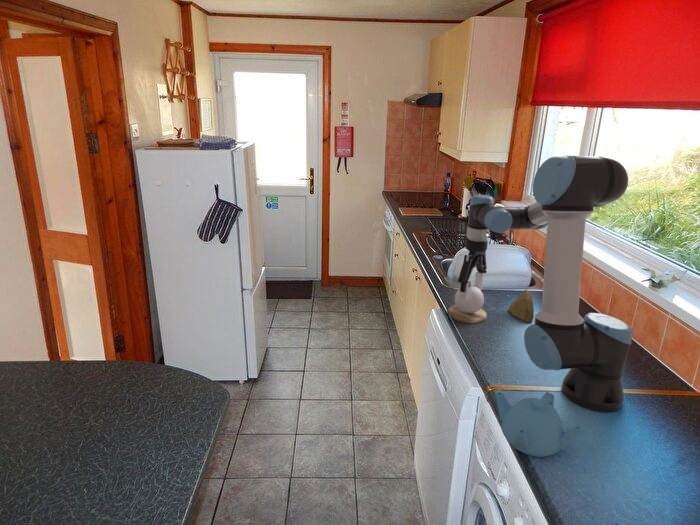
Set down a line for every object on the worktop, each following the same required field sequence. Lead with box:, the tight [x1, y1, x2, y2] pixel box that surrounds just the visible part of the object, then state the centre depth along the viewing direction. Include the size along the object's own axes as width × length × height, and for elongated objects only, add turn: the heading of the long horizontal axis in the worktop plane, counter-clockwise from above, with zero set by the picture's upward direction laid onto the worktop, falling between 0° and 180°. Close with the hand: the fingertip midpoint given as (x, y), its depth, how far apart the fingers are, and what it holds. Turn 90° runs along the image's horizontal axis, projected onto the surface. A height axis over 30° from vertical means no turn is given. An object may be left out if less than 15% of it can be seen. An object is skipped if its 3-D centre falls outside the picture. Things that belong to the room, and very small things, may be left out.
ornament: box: [454, 280, 485, 313], centre depth 172 cm, size 10×10×12 cm
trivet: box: [447, 304, 488, 324], centre depth 174 cm, size 14×14×1 cm
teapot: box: [495, 391, 583, 458], centre depth 109 cm, size 15×15×11 cm
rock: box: [507, 289, 535, 323], centre depth 173 cm, size 11×9×10 cm
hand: (470, 294), depth 171 cm, fingers open, 13 cm apart
